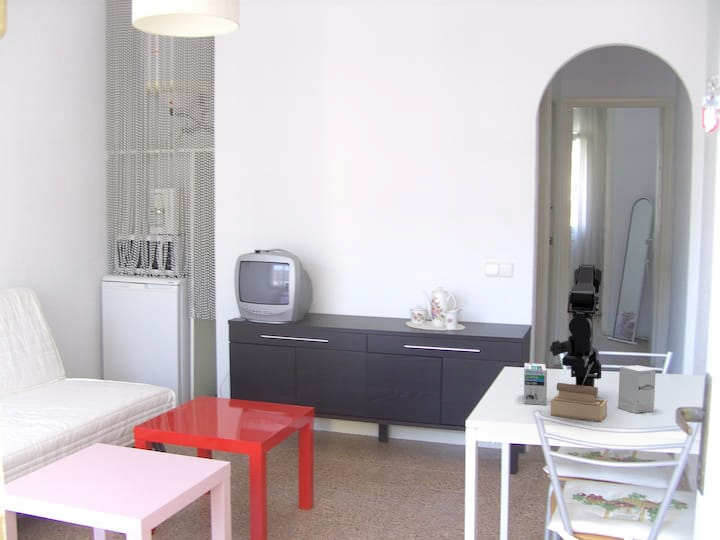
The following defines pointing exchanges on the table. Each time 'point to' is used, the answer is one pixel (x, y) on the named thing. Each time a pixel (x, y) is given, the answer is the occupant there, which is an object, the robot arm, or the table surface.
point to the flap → (577, 393)
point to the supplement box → (636, 388)
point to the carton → (579, 410)
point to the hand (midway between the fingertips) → (579, 386)
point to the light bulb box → (535, 383)
